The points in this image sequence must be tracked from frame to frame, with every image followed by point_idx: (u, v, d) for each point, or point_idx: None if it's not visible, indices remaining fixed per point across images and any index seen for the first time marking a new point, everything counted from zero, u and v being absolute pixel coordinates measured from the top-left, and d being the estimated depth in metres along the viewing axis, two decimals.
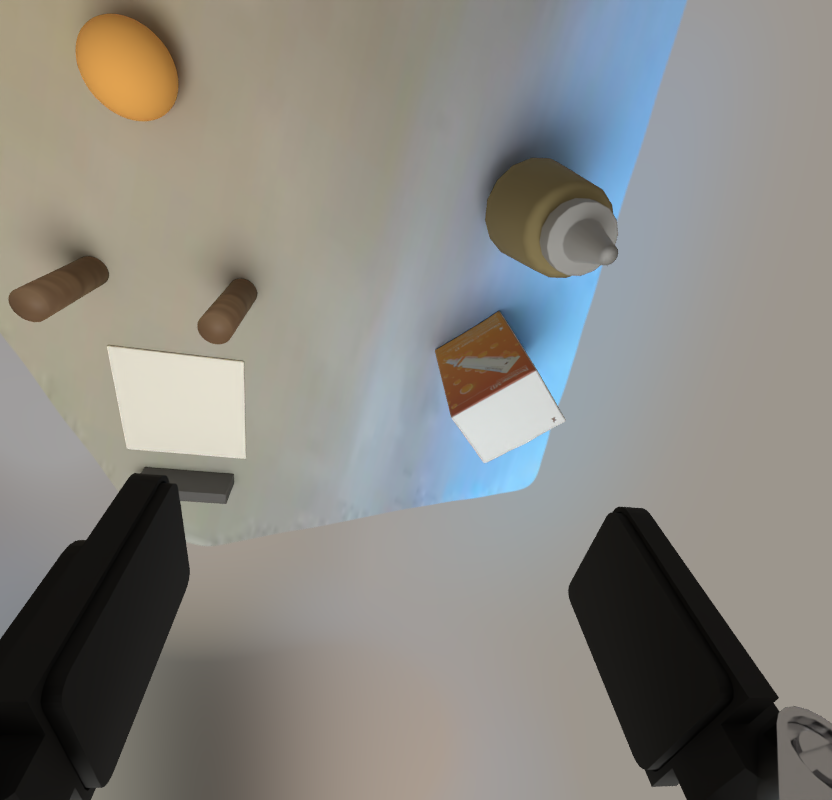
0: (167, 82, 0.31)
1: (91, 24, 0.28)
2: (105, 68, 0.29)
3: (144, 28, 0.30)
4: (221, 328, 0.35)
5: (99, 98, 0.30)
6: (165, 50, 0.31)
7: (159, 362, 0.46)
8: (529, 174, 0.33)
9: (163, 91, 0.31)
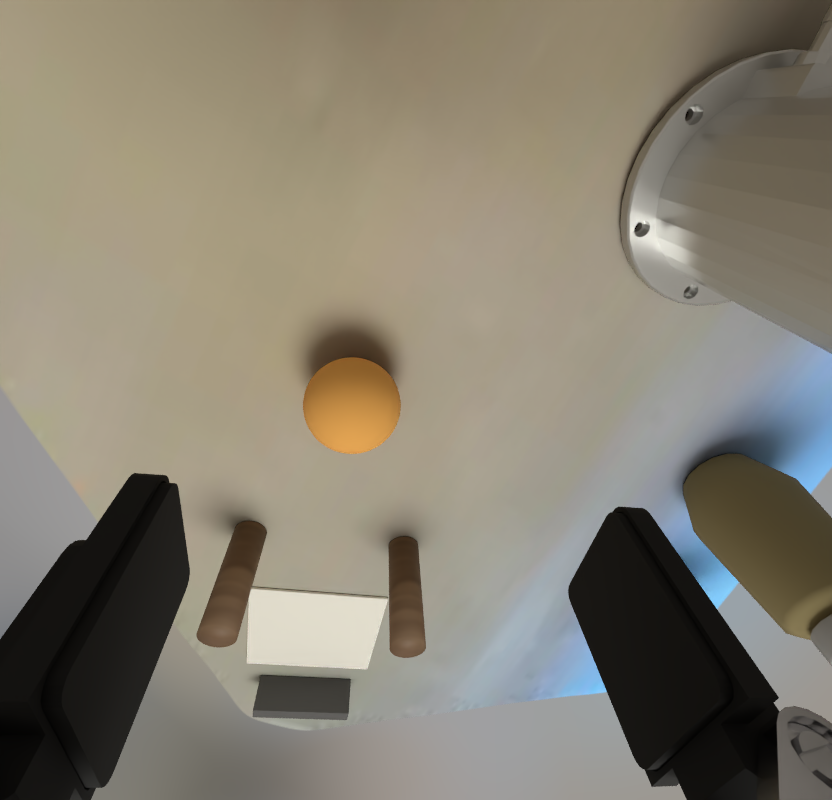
0: (396, 423, 0.28)
1: (334, 390, 0.25)
2: (345, 436, 0.26)
3: (383, 379, 0.26)
4: (414, 647, 0.32)
5: (323, 444, 0.27)
6: (397, 390, 0.27)
7: (300, 600, 0.43)
8: (779, 520, 0.30)
9: None
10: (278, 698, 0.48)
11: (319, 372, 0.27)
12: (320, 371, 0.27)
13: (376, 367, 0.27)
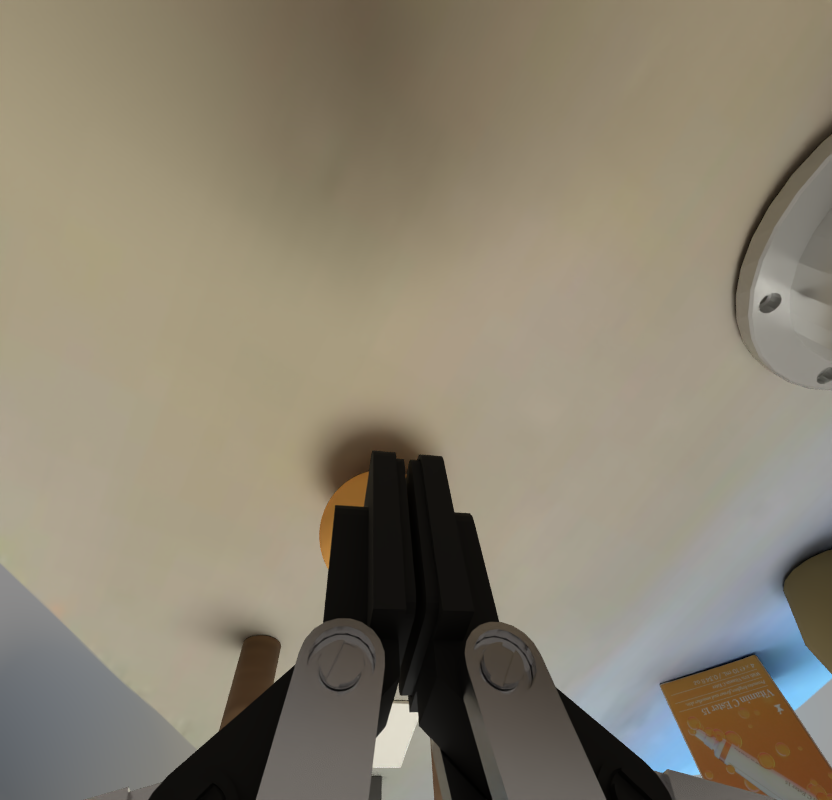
0: None
1: None
2: None
3: None
4: None
5: None
6: None
7: None
8: None
9: None
10: None
11: (339, 498, 0.21)
12: (340, 497, 0.21)
13: None
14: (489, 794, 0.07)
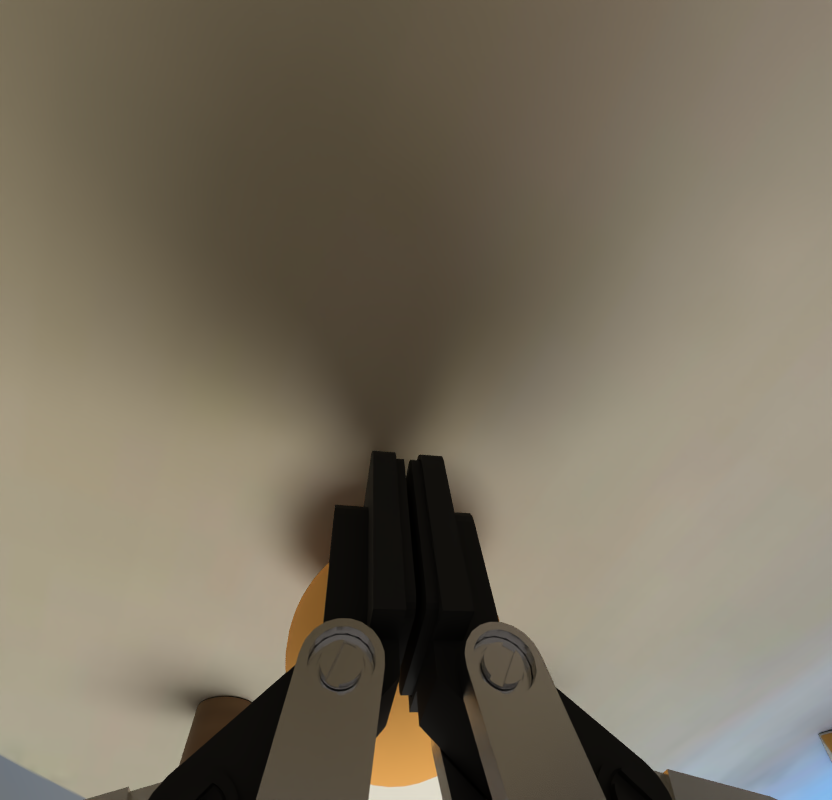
0: None
1: None
2: None
3: None
4: None
5: None
6: None
7: None
8: None
9: None
10: None
11: None
12: None
13: None
14: (489, 794, 0.07)
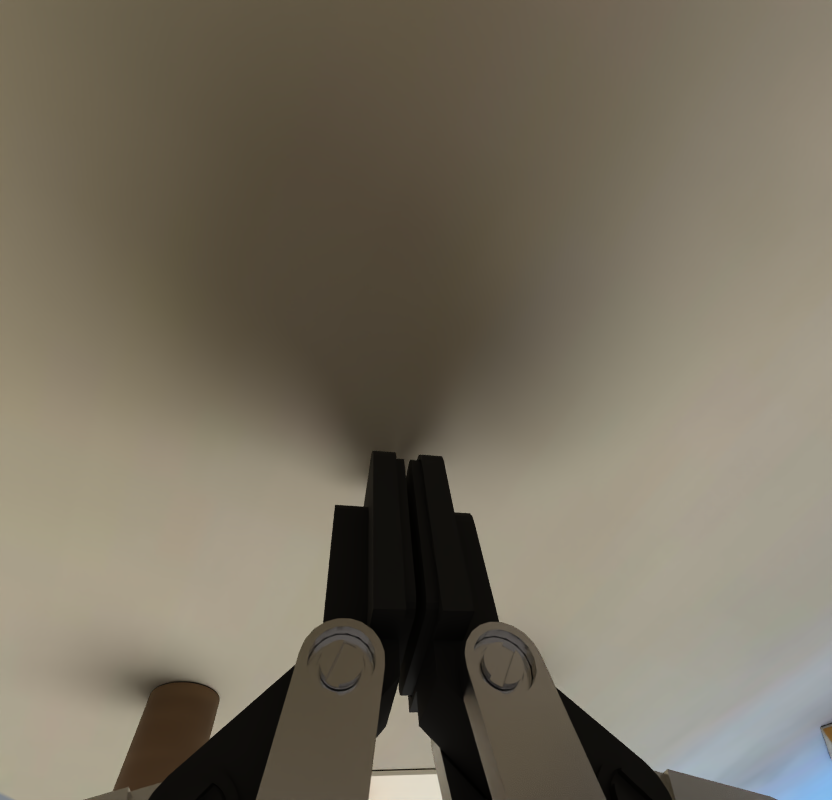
0: None
1: None
2: None
3: None
4: None
5: None
6: None
7: None
8: None
9: None
10: None
11: None
12: None
13: None
14: (489, 794, 0.07)
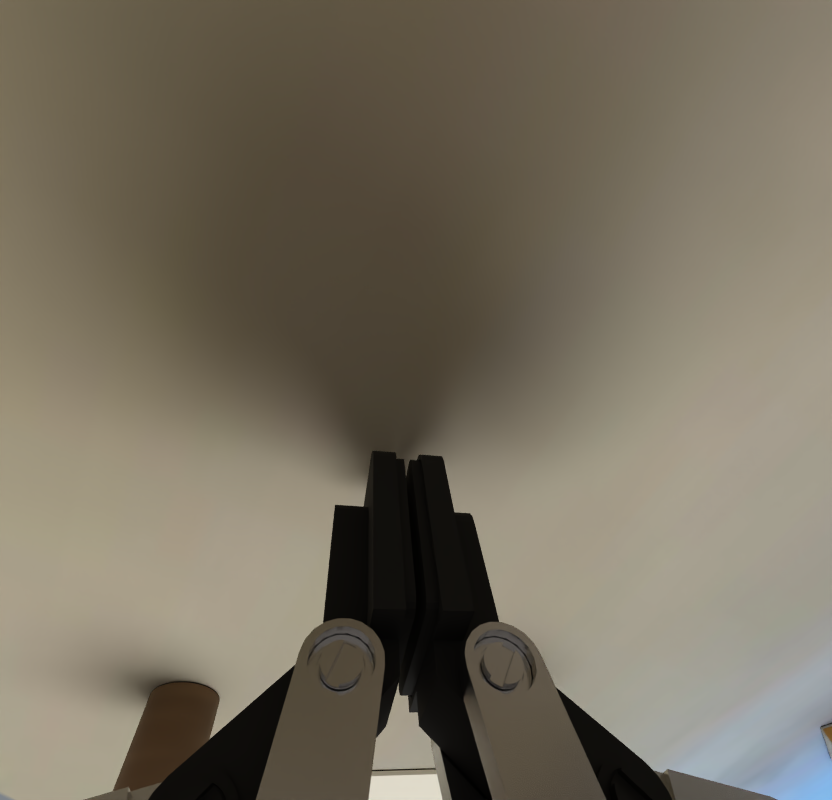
0: None
1: None
2: None
3: None
4: None
5: None
6: None
7: None
8: None
9: None
10: None
11: None
12: None
13: None
14: (489, 794, 0.07)
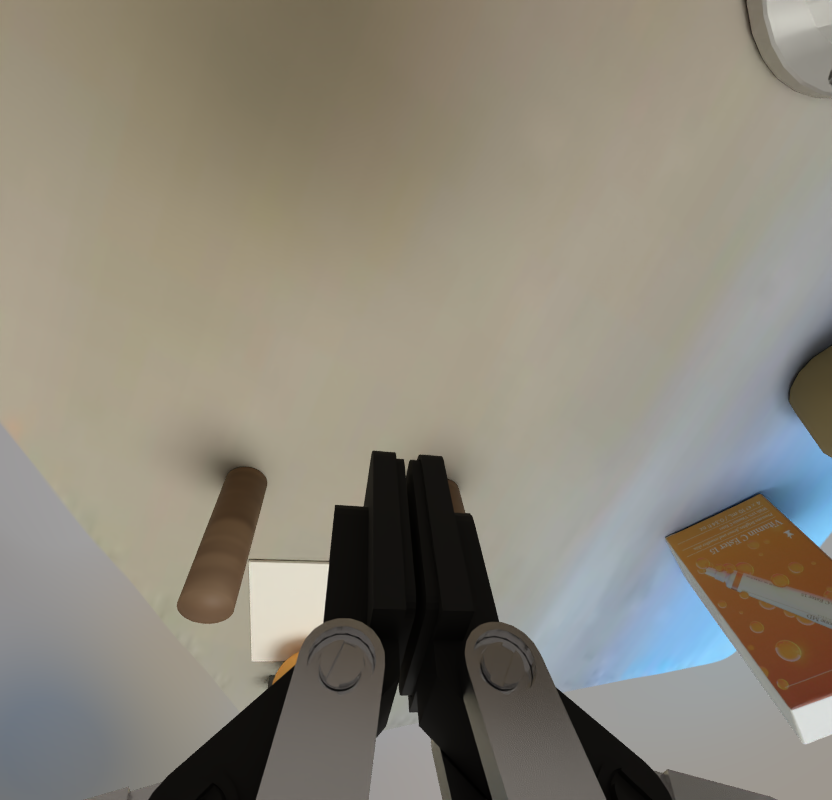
0: None
1: None
2: None
3: None
4: None
5: None
6: None
7: (313, 574, 0.34)
8: None
9: None
10: None
11: (282, 664, 0.38)
12: (283, 663, 0.38)
13: None
14: (489, 794, 0.07)
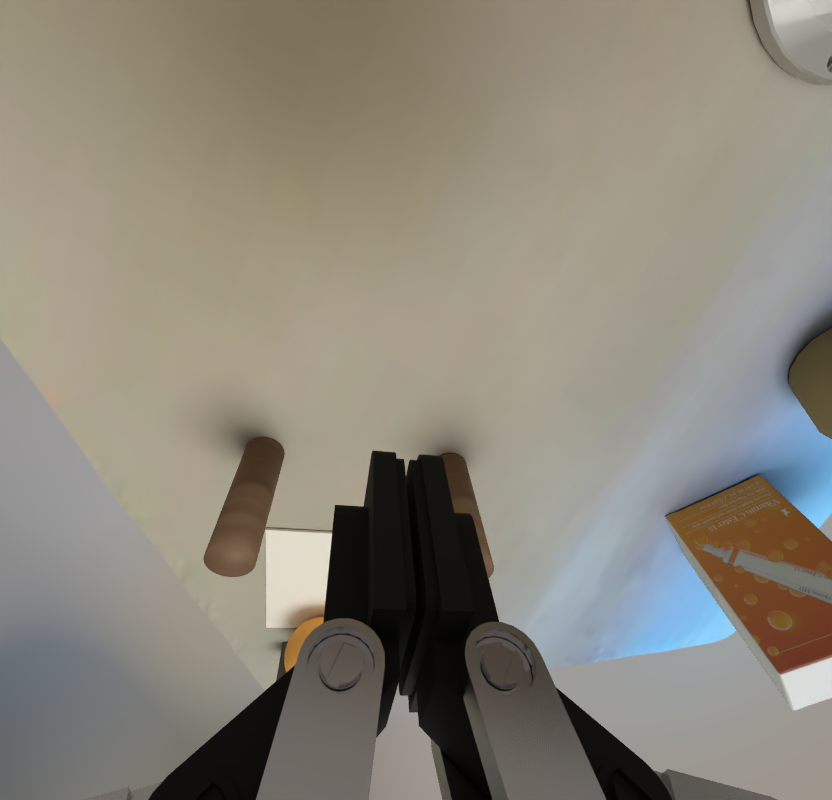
0: None
1: (308, 633, 0.38)
2: None
3: None
4: None
5: None
6: None
7: (326, 543, 0.36)
8: None
9: None
10: None
11: (296, 629, 0.40)
12: None
13: None
14: (489, 794, 0.07)
